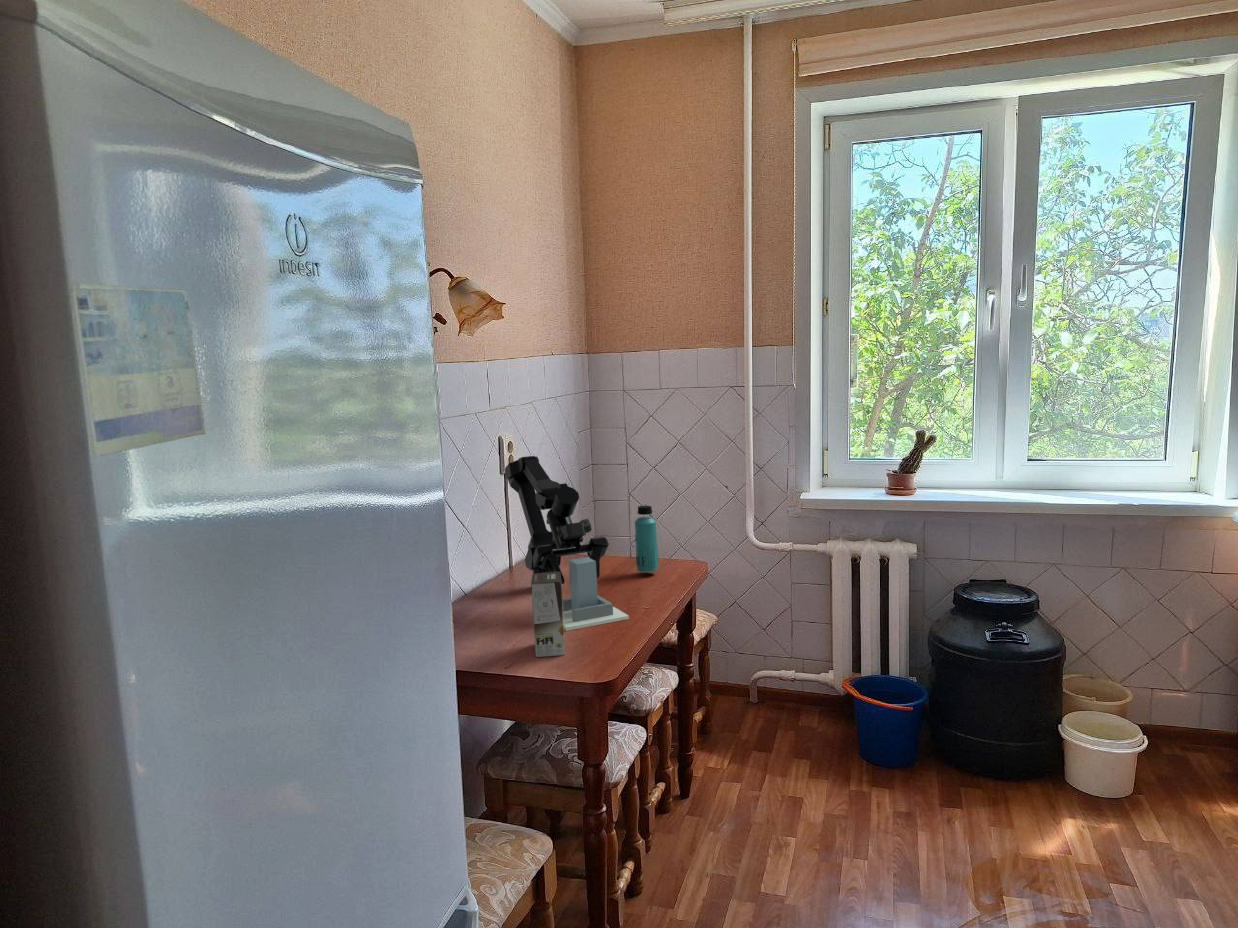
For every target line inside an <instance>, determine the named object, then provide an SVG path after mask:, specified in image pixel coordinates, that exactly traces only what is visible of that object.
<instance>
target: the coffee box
mask: <svg viewBox="0 0 1238 928" xmlns="http://www.w3.org/2000/svg"><path fill="white" fill-rule="evenodd" d="M561 572H562V571H561ZM561 572H545V573H535V574H533V573H532V575H531V581H530V586H531V597H532V598H531V599H532V613H533V614H532V615H533V616H532V617H533V630H534V632H533V633H534V648H535V651H534V652H535V657H536V658H540V657H541V658H542V657H544V658H545V657H554V656H555V657H558V656H564V655H565V630H564V617H563V599H564V598H563V588H562V586H563V584H562V583H561Z"/></svg>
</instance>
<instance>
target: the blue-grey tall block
mask: <svg viewBox="0 0 1238 928" xmlns="http://www.w3.org/2000/svg"><path fill="white" fill-rule="evenodd" d="M568 571H569V587H570V588H569V589H570V598H571V610H573V609H578V608H584V607H589V606H594V605H598V578H597V574H596V561H594V560H592V559H590V557H589V556H587V557H585V556H584V557H580V558H574V559H568Z"/></svg>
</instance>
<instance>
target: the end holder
mask: <svg viewBox="0 0 1238 928" xmlns="http://www.w3.org/2000/svg"><path fill="white" fill-rule="evenodd" d="M562 599H563V617H564V631H566V632H568V631H573V630H578V629H584V628H590V627H595V626H599V625H600V626H601V625H604V624H610V623H616V622H621V621H626V620H629V619H630V616H629V614H627V613H625V612H623V611H622V610H620V609H619V608H617V607H615V606H613V605H614V604H613V603H612V602H610V601H609V600H607V599H605V598H604V597H602V596H600V595H598V605H594V606H589V607H584V608H578V609H573V610H571V597H568V598H562Z"/></svg>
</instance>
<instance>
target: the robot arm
mask: <svg viewBox="0 0 1238 928" xmlns="http://www.w3.org/2000/svg"><path fill="white" fill-rule="evenodd" d="M504 475H505V478H506V480H507V482H508V483H509V487H510V488H512V489H513V490H514V491H515V492H516V493H517V495H518V496H519V497H518V498H519V501H520V504H521V507H522V511H523V515H524V517H525V521H526V524H527V529H528V531H529V536H530V539H529V542H528V546H527V552H526V555H525V559H524V563H525V567H526V568H527V569H529V570H530V571H532V575H533V574H535V573H545V572H561V584H562V585H564V584H565V582H566V581H565V577H564V575H563V573H562V570H561V568H560V566H561V563H562V562H561V561H562V560H561V559H562V557H566V556H573V555H579V554H585V553H586V554H587V557H588V558H590V559H592V560H594V561H596V574H597V579H599V578H600V570H601V568H600V567H601V565H600V561H601V558H602V557H604V556H605V554H606V552H607V549H608V547H609V544H610V543H609V541H608V539H607V538H606V537H605V536H598V537H591V538H590V540H589V542H588V543H586V544H581V543H582V542H583V540H584V536H586V534H589V533H590V532H591V531H592V525H591V522H590V519H589V518H585V519H581V520H580V521H579V522H573V521H572V518H571V517H572V515H573V514H574V513H575V510H576V507H577V504H578V503H579V502H578V501H579V499H580V494H579V492H578V491H577V490H576V489H575V488H573V487H570V486H568V483H567V482H565V483H559V482H557V481H554V480H552V479H551V478H550V476H549V475H548V474H547V472H546V470H545V469H544V468H543V466H542V464H541V463H540V460H539V457H538V456H535V455H529V456H521V457H519V458H518V459H517V460H514V461H512V462H508V464H507V465H506V466H505V467H504ZM546 510H548V511H547V512H546V513H547V514H546V522H545V519H544V515H543V512H542V511H546ZM546 524H547V525H549V529H550V531H549V530H548V529H547V527H546Z"/></svg>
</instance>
